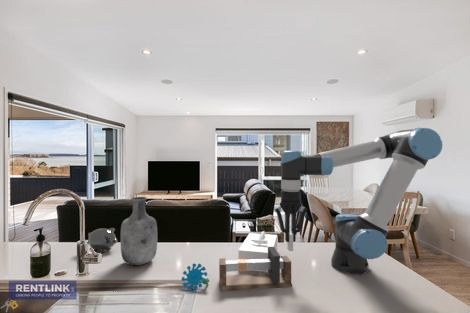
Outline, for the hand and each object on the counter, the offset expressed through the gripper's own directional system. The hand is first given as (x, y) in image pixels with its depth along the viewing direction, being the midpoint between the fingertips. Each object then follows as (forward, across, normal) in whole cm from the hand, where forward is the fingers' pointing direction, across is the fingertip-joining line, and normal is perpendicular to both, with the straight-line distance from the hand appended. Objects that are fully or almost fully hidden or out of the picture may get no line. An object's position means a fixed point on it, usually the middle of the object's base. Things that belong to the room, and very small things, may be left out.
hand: (290, 249), depth 105 cm
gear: (+13, +37, +1) cm, 39 cm away
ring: (+10, +7, 0) cm, 12 cm away
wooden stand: (+12, +14, 0) cm, 19 cm away
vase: (+13, +64, -24) cm, 70 cm away
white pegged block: (+13, +8, -22) cm, 27 cm away
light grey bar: (+7, +14, 0) cm, 16 cm away
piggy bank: (+14, +87, -41) cm, 97 cm away
